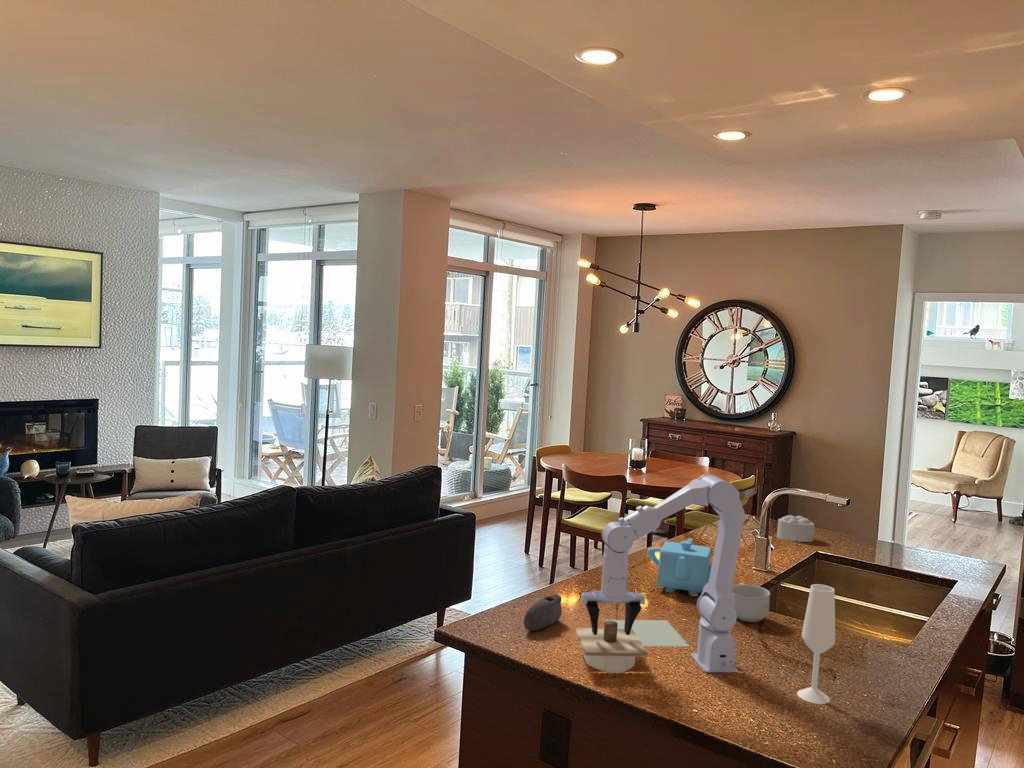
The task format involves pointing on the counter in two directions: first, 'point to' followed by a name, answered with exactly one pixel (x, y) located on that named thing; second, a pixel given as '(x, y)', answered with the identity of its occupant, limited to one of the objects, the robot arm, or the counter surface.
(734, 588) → the teacup
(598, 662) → the bowl
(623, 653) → the cover
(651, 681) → the counter surface
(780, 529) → the lumpy-topped squat cylinder
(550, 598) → the perforated stone tool
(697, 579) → the teakettle
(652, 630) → the mat
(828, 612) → the champagne flute
